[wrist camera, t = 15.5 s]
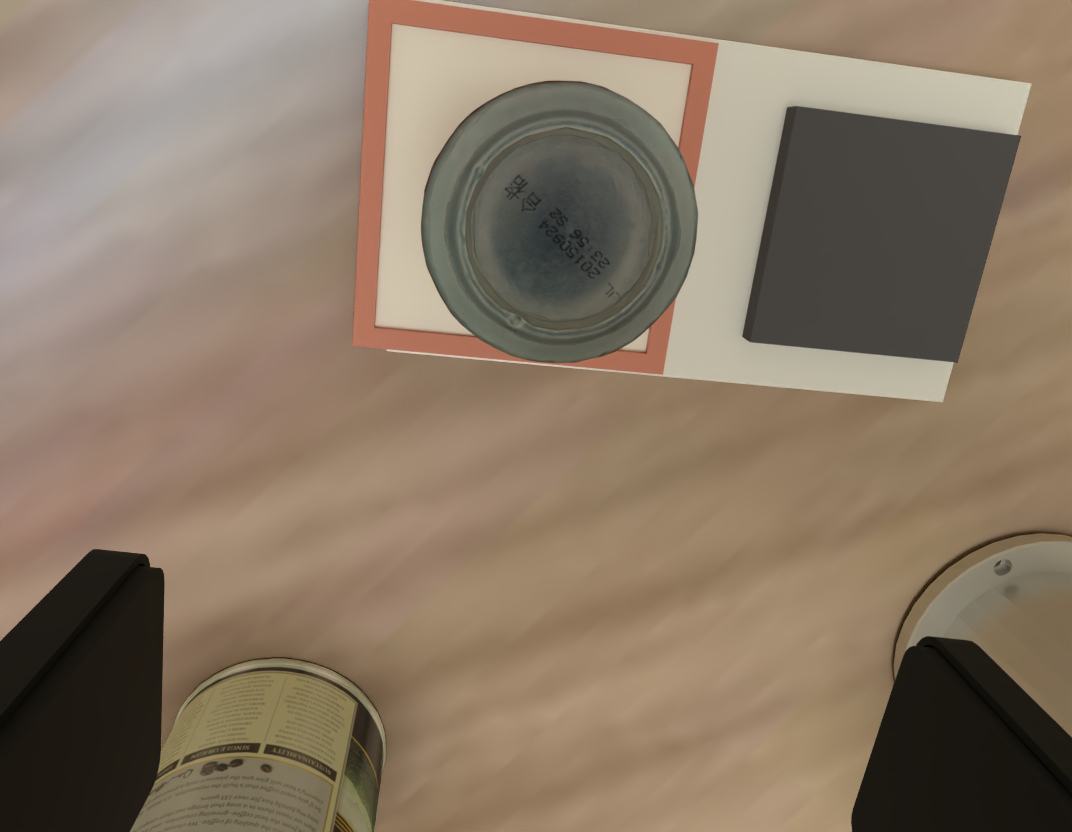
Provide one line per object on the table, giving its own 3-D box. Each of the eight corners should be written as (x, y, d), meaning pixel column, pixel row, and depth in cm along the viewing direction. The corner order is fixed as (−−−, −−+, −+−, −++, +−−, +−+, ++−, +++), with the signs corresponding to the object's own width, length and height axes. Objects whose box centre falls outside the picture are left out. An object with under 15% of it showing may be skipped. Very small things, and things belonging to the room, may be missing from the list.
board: (1012, 85, 33) (1031, 83, 32) (928, 394, 37) (942, 402, 36) (410, 1, 30) (408, -5, 29) (389, 344, 34) (386, 351, 33)
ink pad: (1004, 136, 32) (1021, 135, 31) (944, 356, 35) (957, 362, 34) (787, 107, 31) (797, 105, 30) (741, 336, 34) (750, 342, 33)
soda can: (511, 58, 30) (540, 7, 18) (656, 183, 31) (767, 209, 20) (398, 216, 31) (358, 262, 20) (543, 326, 33) (586, 428, 21)
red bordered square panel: (714, 44, 30) (718, 43, 30) (660, 371, 34) (663, 374, 34) (370, -4, 29) (369, -6, 28) (354, 343, 33) (352, 345, 32)
